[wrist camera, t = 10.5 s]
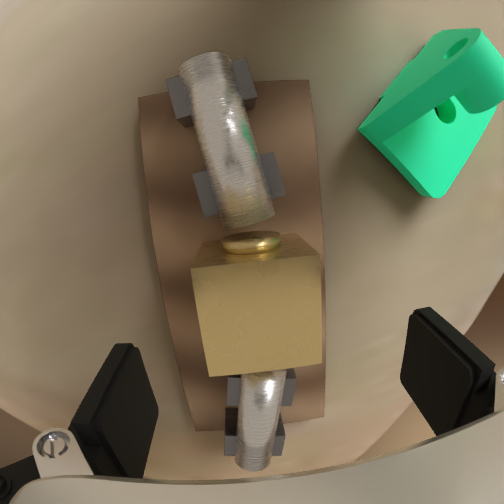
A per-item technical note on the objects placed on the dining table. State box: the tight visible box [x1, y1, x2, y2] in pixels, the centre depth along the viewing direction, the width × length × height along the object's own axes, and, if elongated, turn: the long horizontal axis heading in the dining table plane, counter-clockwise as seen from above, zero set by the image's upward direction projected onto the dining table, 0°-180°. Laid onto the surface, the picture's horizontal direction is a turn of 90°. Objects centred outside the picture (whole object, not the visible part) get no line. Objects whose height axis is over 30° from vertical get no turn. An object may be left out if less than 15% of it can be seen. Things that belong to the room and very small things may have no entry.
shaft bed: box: [138, 80, 326, 431], centre depth 22 cm, size 26×11×2 cm, turn 6°
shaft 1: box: [166, 52, 286, 229], centre depth 17 cm, size 9×4×5 cm, turn 16°
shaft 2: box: [224, 368, 297, 471], centre depth 21 cm, size 9×4×5 cm, turn 176°
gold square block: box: [190, 231, 322, 377], centre depth 18 cm, size 7×6×6 cm
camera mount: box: [357, 28, 504, 198], centre depth 16 cm, size 12×8×10 cm, turn 142°
